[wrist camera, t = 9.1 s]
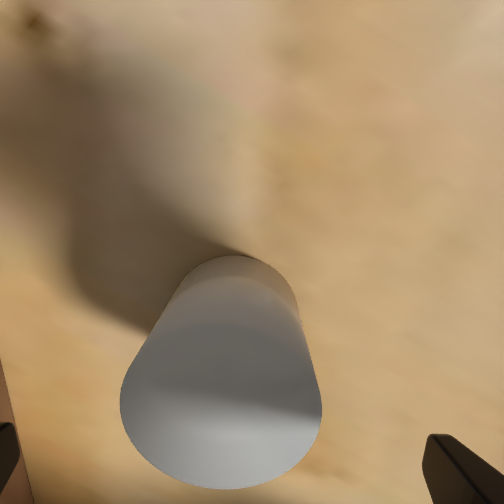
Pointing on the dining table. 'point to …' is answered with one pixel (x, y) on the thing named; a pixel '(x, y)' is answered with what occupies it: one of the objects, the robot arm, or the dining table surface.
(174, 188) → the dining table surface
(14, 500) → the walnut caddy
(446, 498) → the robot arm
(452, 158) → the dining table surface
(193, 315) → the salt cellar
